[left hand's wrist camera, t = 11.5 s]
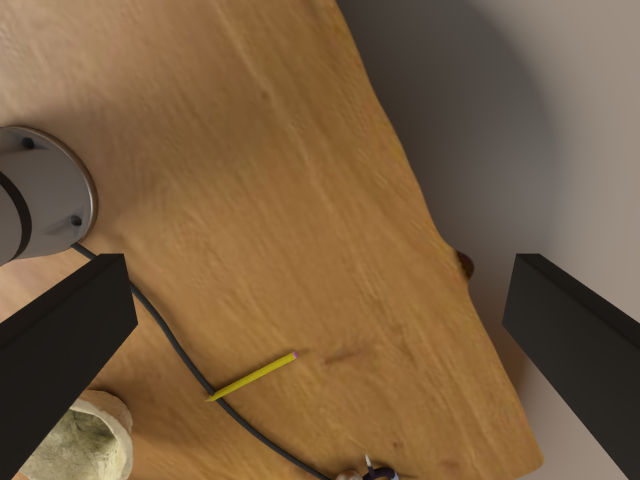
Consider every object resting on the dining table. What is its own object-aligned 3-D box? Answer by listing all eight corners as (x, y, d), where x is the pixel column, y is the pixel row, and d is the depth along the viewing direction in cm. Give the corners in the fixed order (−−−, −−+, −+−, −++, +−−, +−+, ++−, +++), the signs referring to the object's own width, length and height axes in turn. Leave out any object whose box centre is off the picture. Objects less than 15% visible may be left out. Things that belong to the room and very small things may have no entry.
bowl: (142, 422, 63) (48, 490, 56) (87, 343, 55) (-29, 410, 48) (168, 475, 52) (56, 568, 45) (104, 387, 45) (-41, 481, 38)
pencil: (294, 349, 52) (293, 354, 51) (298, 354, 53) (297, 359, 52) (203, 397, 55) (201, 402, 54) (207, 401, 56) (205, 406, 55)
